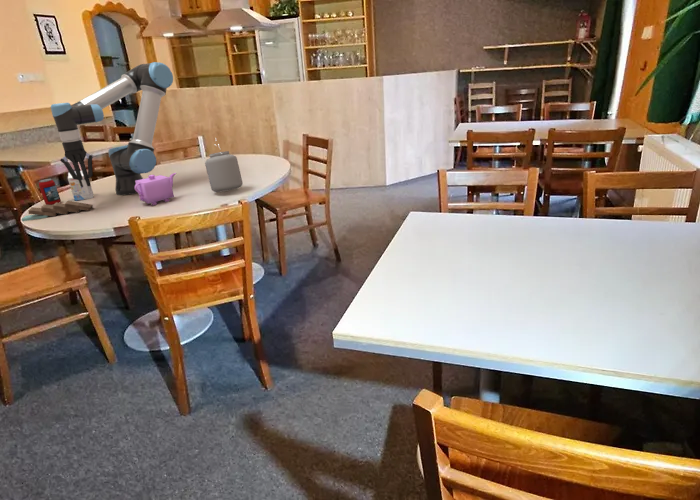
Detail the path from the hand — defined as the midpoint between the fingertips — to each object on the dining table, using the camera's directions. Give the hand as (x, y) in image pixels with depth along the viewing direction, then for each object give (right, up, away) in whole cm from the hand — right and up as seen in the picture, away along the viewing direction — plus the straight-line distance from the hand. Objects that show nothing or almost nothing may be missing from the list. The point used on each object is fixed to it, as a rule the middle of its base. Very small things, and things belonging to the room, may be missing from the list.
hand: (88, 193), depth 204 cm
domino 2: (-14, -9, -1) cm, 16 cm away
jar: (+59, +3, +13) cm, 61 cm away
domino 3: (-9, -8, 0) cm, 12 cm away
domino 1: (-17, -10, -1) cm, 20 cm away
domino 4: (-5, -7, +1) cm, 9 cm away
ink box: (-17, +1, +26) cm, 31 cm away
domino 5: (0, -6, +2) cm, 7 cm away
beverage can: (-28, -3, +19) cm, 34 cm away
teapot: (+30, -3, +6) cm, 31 cm away
